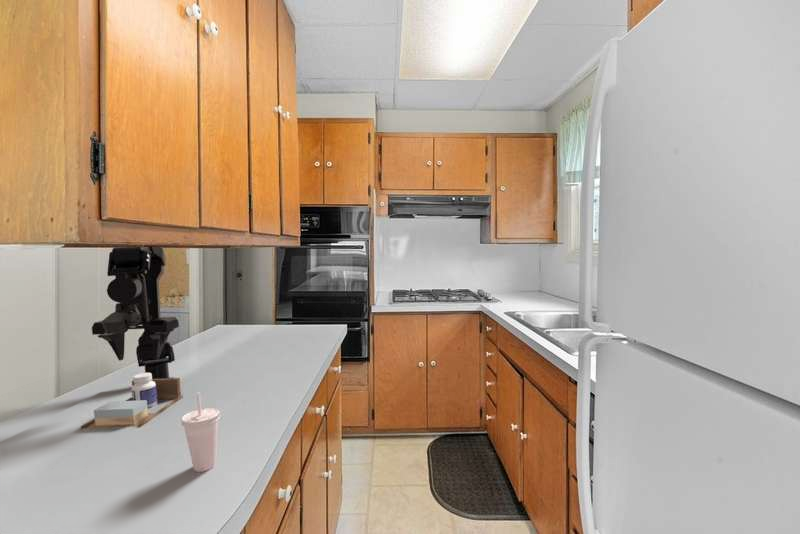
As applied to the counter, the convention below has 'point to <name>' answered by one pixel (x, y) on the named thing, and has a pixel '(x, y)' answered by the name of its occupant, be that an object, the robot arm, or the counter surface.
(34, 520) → the counter surface
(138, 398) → the pill bottle
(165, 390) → the rack
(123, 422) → the offcut lower
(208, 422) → the smoothie
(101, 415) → the offcut upper
